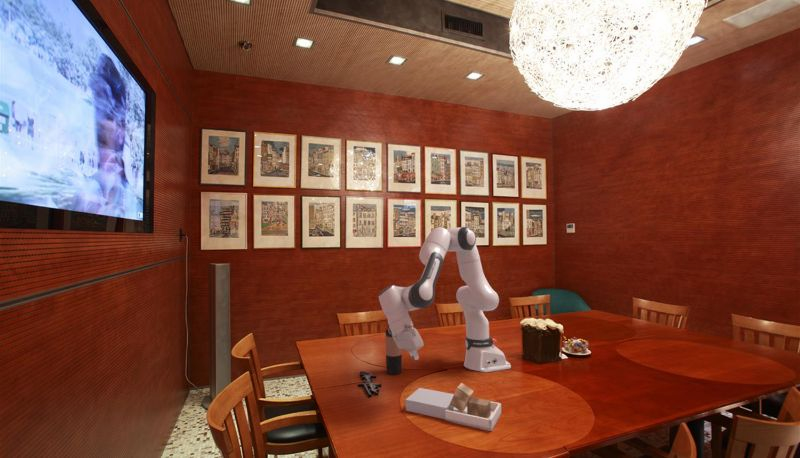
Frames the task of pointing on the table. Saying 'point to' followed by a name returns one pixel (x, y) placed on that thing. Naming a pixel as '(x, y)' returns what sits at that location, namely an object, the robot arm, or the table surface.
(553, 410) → the table surface
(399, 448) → the table surface
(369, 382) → the nameplate
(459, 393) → the oak block
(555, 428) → the table surface
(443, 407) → the white box cover
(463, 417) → the tray
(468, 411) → the walnut block
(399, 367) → the travel mug
